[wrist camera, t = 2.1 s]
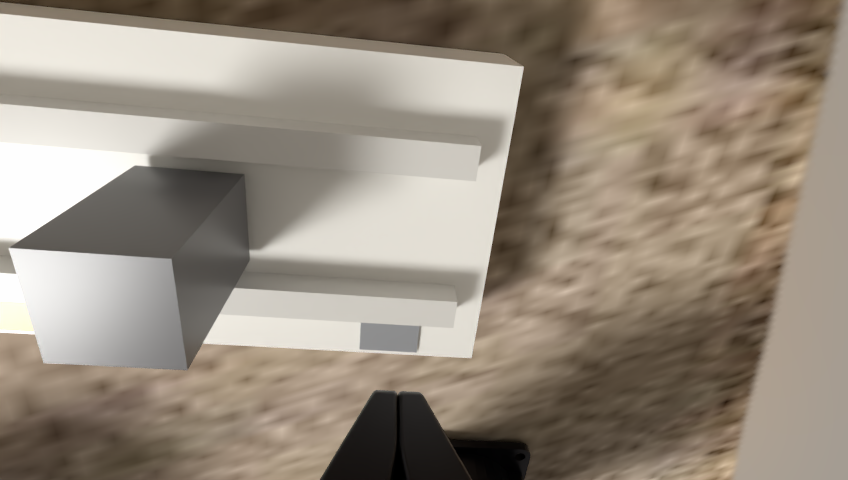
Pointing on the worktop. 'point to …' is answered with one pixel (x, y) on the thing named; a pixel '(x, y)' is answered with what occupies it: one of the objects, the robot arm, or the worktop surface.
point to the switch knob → (136, 268)
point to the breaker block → (274, 164)
